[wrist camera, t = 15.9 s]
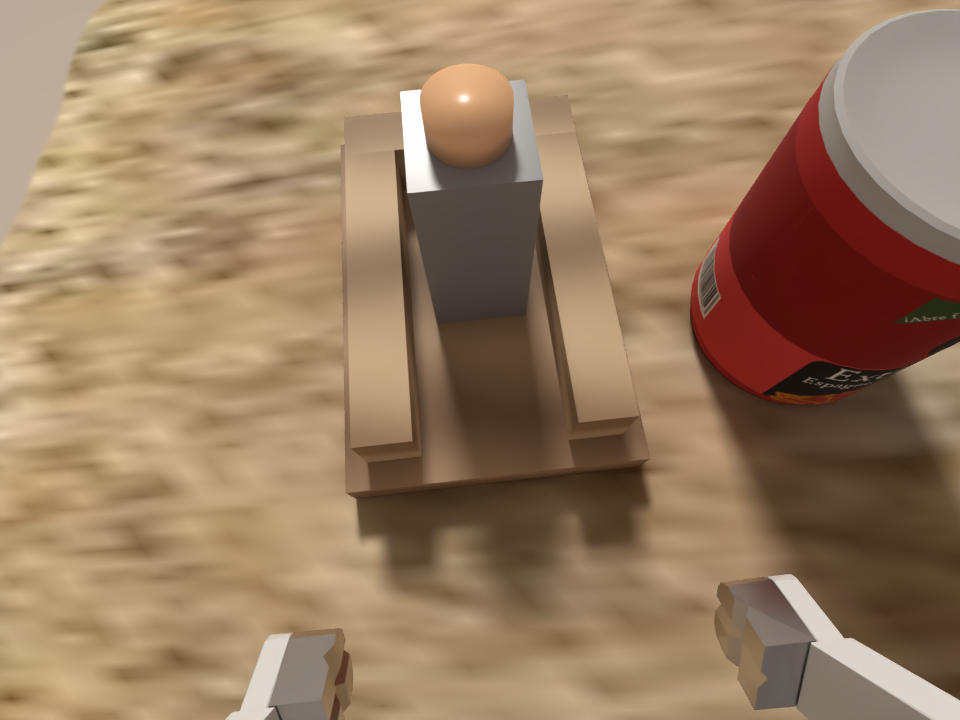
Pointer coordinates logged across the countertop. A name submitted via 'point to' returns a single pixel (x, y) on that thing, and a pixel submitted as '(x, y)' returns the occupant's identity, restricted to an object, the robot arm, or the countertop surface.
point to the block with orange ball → (473, 190)
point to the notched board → (478, 337)
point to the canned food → (847, 228)
